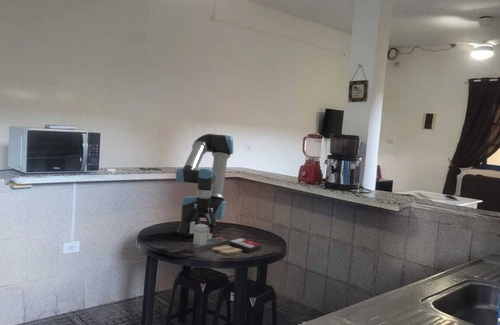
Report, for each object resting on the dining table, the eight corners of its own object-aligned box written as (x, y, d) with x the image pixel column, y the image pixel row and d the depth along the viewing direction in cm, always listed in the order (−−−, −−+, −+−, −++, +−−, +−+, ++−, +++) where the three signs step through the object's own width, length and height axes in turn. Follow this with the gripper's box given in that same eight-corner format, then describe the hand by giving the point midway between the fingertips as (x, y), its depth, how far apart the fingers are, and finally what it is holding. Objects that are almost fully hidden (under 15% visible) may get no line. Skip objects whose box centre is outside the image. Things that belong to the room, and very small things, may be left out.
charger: (192, 246, 223) (194, 224, 222) (199, 245, 227) (201, 223, 226) (199, 249, 220) (201, 226, 219) (206, 247, 224) (208, 225, 223)
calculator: (249, 247, 224) (228, 240, 233) (248, 255, 224) (227, 247, 233) (261, 244, 233) (240, 237, 241) (260, 251, 233) (239, 244, 242)
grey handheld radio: (195, 253, 216) (195, 246, 215) (184, 249, 221) (185, 242, 220) (234, 243, 240) (234, 237, 240) (224, 240, 245) (224, 234, 245)
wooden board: (211, 250, 224) (211, 247, 224) (225, 246, 233) (226, 244, 233) (227, 255, 216) (227, 253, 216) (242, 251, 226) (242, 249, 226)
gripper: (182, 194, 226) (179, 232, 228) (215, 201, 211) (212, 242, 212) (192, 193, 232) (189, 230, 234) (225, 200, 217) (222, 240, 218)
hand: (200, 236), depth 223 cm, fingers open, 13 cm apart
